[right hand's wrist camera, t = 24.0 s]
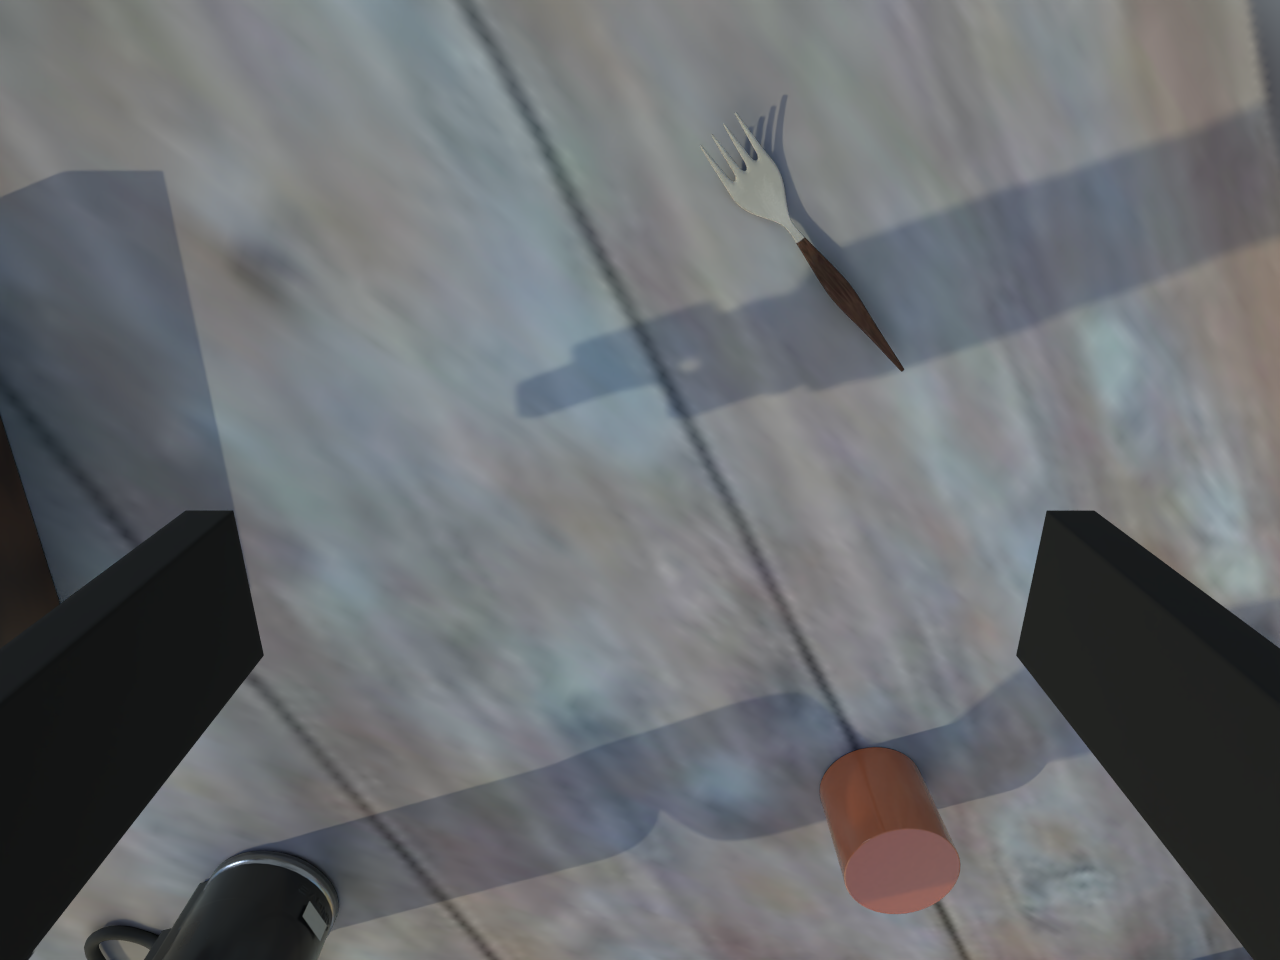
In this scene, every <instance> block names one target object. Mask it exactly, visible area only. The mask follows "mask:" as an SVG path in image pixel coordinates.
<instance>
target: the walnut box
mask: <svg viewBox="0 0 1280 960" xmlns="http://www.w3.org/2000/svg"><path fill="white" fill-rule="evenodd" d="M58 605H60V602H59V599H58V596H57V593H56V590H55V587H54V584H53V580H52V577H51V574H50V571H49V568H48V565H47V562H46V558H45V555H44V552H43V549H42V546H41V543H40V540H39V536H38V533H37V530H36V527H35V524H34V521H33V518H32V514H31V511H30V508H29V505H28V502H27V499H26V496H25V492H24V489H23V486H22V483H21V480H20V477H19V474H18V470H17V467H16V464H15V461H14V458H13V455H12V452H11V448H10V445H9V442H8V439H7V436H6V433H5V430H4V426H3V423H2V420H1V417H0V648H2V647H3V646H4V645H6V644H7V643H8V642H10V641H11V640H12V639H14V638H15V637H16V636H18V635H19V634H20V633H22V632H23V631H25V630H26V629H27V628H29V627H30V626H31V625H33V624H34V623H35V622H37V621H38V620H39V619H41V618H42V617H43V616H45V615H46V614H47V613H49V612H50V611H51V610H53V609H54V608H55V607H57V606H58Z"/></svg>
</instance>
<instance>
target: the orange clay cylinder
mask: <svg viewBox="0 0 1280 960" xmlns="http://www.w3.org/2000/svg"><path fill="white" fill-rule="evenodd" d="M820 798H821V802H822V806H823V809H824V813H825V816H826V820H827V823H828V827H829V830H830V834H831V837H832V840H833V844H834V847H835V851H836V854H837V858H838V861H839V865H840V868H841V872H842V875H843V879H844V882H845V885H846V888H847V890H848V892H849V893H850V895H851V896H852V897H853V898H854V899H855V900H856V901H857V902H858V903H859V904H861V905H862V906H864V907H866V908H868V909H870V910H873V911H876V912H881V913H887V914H904V913H910V912H915V911H918V910H921V909H924V908H927V907H929V906H931V905H933V904H935V903H936V902H938V901H939V900H941V899H942V898H943V897H945V896H946V895H947V894H948V893H949V892H950V890H951V889H952V888H953V886H954V885H955V883H956V881H957V879H958V876H959V872H960V858H959V855H958V853H957V850H956V848H955V846H954V844H953V842H952V840H951V838H950V835H949V833H948V831H947V829H946V827H945V825H944V823H943V820H942V818H941V816H940V814H939V812H938V810H937V808H936V805H935V803H934V801H933V799H932V797H931V795H930V793H929V790H928V788H927V786H926V784H925V782H924V780H923V778H922V775H921V773H920V771H919V769H918V767H917V766H916V765H915V763H914V762H913V761H912V760H911V759H910V758H908V757H907V756H906V755H904V754H902V753H900V752H898V751H895V750H892V749H888V748H881V747H871V748H864V749H859V750H856V751H853V752H850V753H848V754H846V755H844V756H842V757H841V758H839V759H838V760H837V761H835V762H834V763H833V764H832V765H831V766H830V767H829V768H828V770H827V771H826V773H825V774H824V776H823V778H822V781H821V785H820Z"/></svg>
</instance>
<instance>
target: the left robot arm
mask: <svg viewBox="0 0 1280 960" xmlns="http://www.w3.org/2000/svg"><path fill="white" fill-rule="evenodd" d="M338 907H339V905H338V897H337V894H336V891H335V889H334V887H333V886H332V884H331V882H330V881H329V880H328V879H327V877H326V876H325V875H324V874H323V873H322V872H321V871H319V870H318V869H317V868H316V867H314V866H313V865H311V864H309V863H308V862H306V861H304V860H302V859H300V858H297V857H294V856H292V855H288V854H285V853H280V852H274V851H252V852H246V853H242V854H239V855H236V856H233V857H231V858H229V859H227V860H226V861H224V862H223V863H222V864H221V865H219V866H218V868H217V869H216V870H215V871H214V873H213V874H212V876H211V878H210V879H209V881H206V882H203V883H200V884H199V885H198V887H197V889H196V890H195V892H194V893H193V895H192V897H191V898H190V900H189V901H188V903H187V905H186V906H185V908H184V910H183V911H182V913H181V914H180V916H179V918H178V919H177V921H176V922H175V924H174V926H173V927H172V928H171V929H167V930H163V931H162V932H161V934H160V935H159V937H158V936H157V935H155V934H153V933H150V932H147V931H144V930H141V929H138V928H134V927H129V926H109V927H105V928H102V929H99V930H98V931H96V932H94V933H92V934H91V935H90V936H89V937H88V939H87V940H86V943H85V946H84V950H85V955H86V958H87V960H106V959H105V957H104V956H103V954H102V953H101V951H100V949H99V943H100V942H102V941H106V940H125V941H130V942H134V943H137V944H140V945H142V946H145V947H146V948H148V949H150V951H149V953H148V954H147V956H146V958H145V959H144V960H318V957H319V955H320V952H321V950H322V947H323V945H324V942H325V940H326V938H327V936H328V935H329V933H330V931H331V929H332V927H333V924H334V922H335V919H336V917H337V913H338ZM33 954H34V952H32V953H31V954H30V956H29V957H28V958H27V959H26V960H29V959H30V957H31V956H32V955H33Z"/></svg>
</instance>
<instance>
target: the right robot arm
mask: <svg viewBox="0 0 1280 960" xmlns="http://www.w3.org/2000/svg"><path fill="white" fill-rule="evenodd" d="M263 656H264V655H263V650H262V645H261V640H260V636H259V631H258V626H257V621H256V617H255V612H254V607H253V602H252V598H251V593H250V588H249V583H248V579H247V574H246V569H245V564H244V560H243V555H242V550H241V545H240V541H239V536H238V531H237V526H236V522H235V517H234V512H233V511H185V512H183V513H182V514H181V515H179V516H178V517H177V518H175V519H174V520H173V521H171V522H170V523H169V524H167V525H166V526H164V527H163V528H162V529H160V530H159V531H158V532H156V533H155V534H154V535H152V536H151V537H150V538H148V539H147V540H146V541H144V542H143V543H142V544H140V545H139V546H138V547H136V548H135V549H134V550H132V551H131V552H129V553H128V554H127V555H125V556H124V557H123V558H121V559H120V560H119V561H117V562H116V563H115V564H113V565H112V566H111V567H109V568H108V569H107V570H105V571H104V572H103V573H101V574H100V575H99V576H97V577H96V578H95V579H93V580H92V581H90V582H89V583H88V584H86V585H85V586H84V587H82V588H81V589H80V590H78V591H77V592H76V593H74V594H73V595H72V596H70V597H69V598H68V599H66V600H65V601H64V602H62V603H61V604H60V605H58V606H57V607H55V608H54V609H53V610H51V611H50V612H49V613H47V614H46V615H45V616H43V617H42V618H41V619H39V620H38V621H37V622H35V623H34V624H33V625H31V626H30V627H29V628H27V629H26V630H25V631H23V632H22V633H20V634H19V635H18V636H16V637H15V638H14V639H12V640H11V641H10V642H8V643H7V644H6V645H4V646H3V647H2V648H0V960H26V959H27V958H28V957H29V956H30V954H31V953H32V952H33V950H34V949H35V948H36V947H37V945H38V944H39V943H40V941H41V940H42V939H43V938H44V936H45V935H46V934H47V932H48V931H49V930H50V929H51V927H52V926H53V925H54V924H55V922H56V921H57V920H58V918H59V917H60V916H61V915H62V913H63V912H64V911H65V909H66V908H67V907H68V906H69V904H70V903H71V902H72V900H73V899H74V898H75V897H76V895H77V894H78V893H79V891H80V890H81V889H82V888H83V886H84V885H85V884H86V883H87V881H88V880H89V879H90V877H91V876H92V875H93V874H94V872H95V871H96V870H97V868H98V867H99V866H100V865H101V863H102V862H103V861H104V859H105V858H106V857H107V856H108V854H109V853H110V852H111V850H112V849H113V848H114V847H115V845H116V844H117V843H118V841H119V840H120V839H121V838H122V836H123V835H124V834H125V833H126V831H127V830H128V829H129V827H130V826H131V825H132V824H133V822H134V821H135V820H136V818H137V817H138V816H139V815H140V813H141V812H142V811H143V809H144V808H145V807H146V806H147V804H148V803H149V802H150V800H151V799H152V798H153V797H154V795H155V794H156V793H157V792H158V790H159V789H160V788H161V786H162V785H163V784H164V783H165V781H166V780H167V779H168V777H169V776H170V775H171V774H172V772H173V771H174V770H175V768H176V767H177V766H178V765H179V763H180V762H181V761H182V759H183V758H184V757H185V756H186V754H187V753H188V752H189V750H190V749H191V748H192V747H193V745H194V744H195V743H196V742H197V740H198V739H199V738H200V736H201V735H202V734H203V733H204V731H205V730H206V729H207V727H208V726H209V725H210V724H211V722H212V721H213V720H214V718H215V717H216V716H217V715H218V713H219V712H220V711H221V709H222V708H223V707H224V706H225V704H226V703H227V702H228V701H229V699H230V698H231V697H232V695H233V694H234V693H235V692H236V690H237V689H238V688H239V686H240V685H241V684H242V683H243V681H244V680H245V679H246V677H247V676H248V675H249V674H250V672H251V671H252V670H253V668H254V667H255V666H256V665H257V663H258V662H259V661H260V659H261V658H262V657H263ZM1016 656H1017V657H1018V658H1019V659H1020V661H1021V662H1022V663H1023V665H1024V666H1025V667H1026V668H1027V670H1028V671H1029V672H1030V674H1031V675H1032V676H1033V677H1034V679H1035V680H1036V681H1037V683H1038V684H1039V685H1040V686H1041V688H1042V689H1043V690H1044V692H1045V693H1046V694H1047V695H1048V697H1049V698H1050V699H1051V701H1052V702H1053V703H1054V704H1055V706H1056V707H1057V708H1058V709H1059V711H1060V712H1061V713H1062V715H1063V716H1064V717H1065V718H1066V720H1067V721H1068V722H1069V724H1070V725H1071V726H1072V727H1073V729H1074V730H1075V731H1076V733H1077V734H1078V735H1079V736H1080V738H1081V739H1082V740H1083V742H1084V743H1085V744H1086V745H1087V747H1088V748H1089V749H1090V750H1091V752H1092V753H1093V754H1094V756H1095V757H1096V758H1097V759H1098V761H1099V762H1100V763H1101V765H1102V766H1103V767H1104V768H1105V770H1106V771H1107V772H1108V774H1109V775H1110V776H1111V777H1112V779H1113V780H1114V781H1115V783H1116V784H1117V785H1118V786H1119V788H1120V789H1121V790H1122V792H1123V793H1124V794H1125V795H1126V797H1127V798H1128V799H1129V800H1130V802H1131V803H1132V804H1133V806H1134V807H1135V808H1136V809H1137V811H1138V812H1139V813H1140V815H1141V816H1142V817H1143V818H1144V820H1145V821H1146V822H1147V824H1148V825H1149V826H1150V827H1151V829H1152V830H1153V831H1154V833H1155V834H1156V835H1157V836H1158V838H1159V839H1160V840H1161V841H1162V843H1163V844H1164V845H1165V847H1166V848H1167V849H1168V850H1169V852H1170V853H1171V854H1172V856H1173V857H1174V858H1175V859H1176V861H1177V862H1178V863H1179V865H1180V866H1181V867H1182V868H1183V870H1184V871H1185V872H1186V874H1187V875H1188V876H1189V877H1190V879H1191V880H1192V881H1193V883H1194V884H1195V885H1196V886H1197V888H1198V889H1199V890H1200V891H1201V893H1202V894H1203V895H1204V897H1205V898H1206V899H1207V900H1208V902H1209V903H1210V904H1211V906H1212V907H1213V908H1214V909H1215V911H1216V912H1217V913H1218V915H1219V916H1220V917H1221V918H1222V920H1223V921H1224V922H1225V924H1226V925H1227V926H1228V927H1229V929H1230V930H1231V931H1232V932H1233V934H1234V935H1235V936H1236V938H1237V939H1238V940H1239V941H1240V943H1241V944H1242V945H1243V947H1244V948H1245V949H1246V950H1247V952H1248V953H1249V954H1250V956H1251V957H1252V958H1253V959H1254V960H1280V648H1278V647H1277V646H1276V645H1274V644H1273V643H1272V642H1270V641H1269V640H1268V639H1266V638H1265V637H1264V636H1262V635H1261V634H1259V633H1258V632H1257V631H1255V630H1254V629H1253V628H1251V627H1250V626H1249V625H1247V624H1246V623H1245V622H1243V621H1242V620H1241V619H1239V618H1238V617H1237V616H1235V615H1234V614H1233V613H1231V612H1230V611H1229V610H1227V609H1226V608H1225V607H1223V606H1222V605H1220V604H1219V603H1218V602H1216V601H1215V600H1214V599H1212V598H1211V597H1210V596H1208V595H1207V594H1206V593H1204V592H1203V591H1202V590H1200V589H1199V588H1198V587H1196V586H1195V585H1194V584H1192V583H1191V582H1190V581H1188V580H1187V579H1185V578H1184V577H1183V576H1181V575H1180V574H1179V573H1177V572H1176V571H1175V570H1173V569H1172V568H1171V567H1169V566H1168V565H1167V564H1165V563H1164V562H1163V561H1161V560H1160V559H1159V558H1157V557H1156V556H1155V555H1153V554H1152V553H1151V552H1149V551H1148V550H1146V549H1145V548H1144V547H1142V546H1141V545H1140V544H1138V543H1137V542H1136V541H1134V540H1133V539H1132V538H1130V537H1129V536H1128V535H1126V534H1125V533H1124V532H1122V531H1121V530H1120V529H1118V528H1117V527H1116V526H1114V525H1113V524H1111V523H1110V522H1109V521H1107V520H1106V519H1105V518H1103V517H1102V516H1101V515H1099V514H1098V513H1097V512H1095V511H1047V512H1046V517H1045V522H1044V526H1043V531H1042V536H1041V541H1040V545H1039V550H1038V555H1037V560H1036V564H1035V569H1034V574H1033V579H1032V583H1031V588H1030V593H1029V598H1028V602H1027V607H1026V612H1025V617H1024V621H1023V626H1022V631H1021V636H1020V640H1019V645H1018V650H1017V655H1016Z"/></svg>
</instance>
